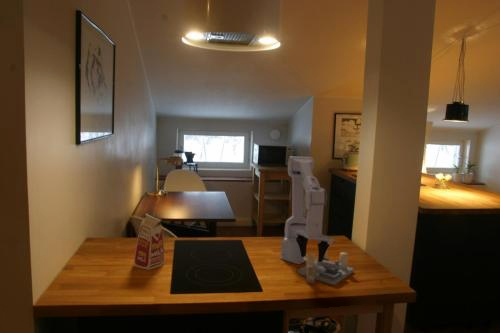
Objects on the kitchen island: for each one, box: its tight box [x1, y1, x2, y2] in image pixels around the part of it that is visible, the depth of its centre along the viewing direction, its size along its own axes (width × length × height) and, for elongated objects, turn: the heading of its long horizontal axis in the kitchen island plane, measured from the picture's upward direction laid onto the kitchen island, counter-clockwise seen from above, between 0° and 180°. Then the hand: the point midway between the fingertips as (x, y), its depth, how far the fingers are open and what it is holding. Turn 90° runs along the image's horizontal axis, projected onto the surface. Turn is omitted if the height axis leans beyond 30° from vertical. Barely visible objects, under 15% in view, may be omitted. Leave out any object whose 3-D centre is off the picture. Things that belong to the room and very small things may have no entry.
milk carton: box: [132, 213, 166, 271], centre depth 144 cm, size 9×9×20 cm
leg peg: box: [305, 265, 316, 285], centre depth 134 cm, size 3×3×6 cm
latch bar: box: [316, 259, 341, 270], centre depth 142 cm, size 9×2×2 cm, turn 65°
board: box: [298, 249, 354, 286], centre depth 144 cm, size 15×17×8 cm
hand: (311, 258), depth 134 cm, fingers open, 6 cm apart
